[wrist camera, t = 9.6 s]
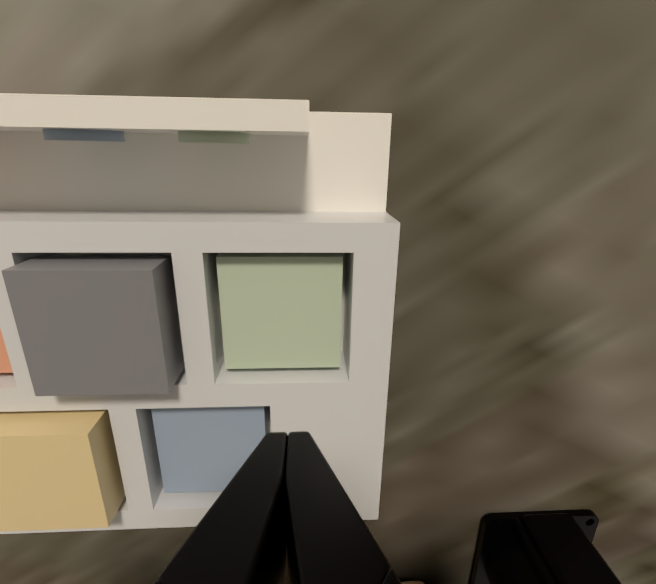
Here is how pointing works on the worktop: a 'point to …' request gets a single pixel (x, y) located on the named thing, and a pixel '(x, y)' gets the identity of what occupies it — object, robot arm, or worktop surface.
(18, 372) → the keypad
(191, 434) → the key slate
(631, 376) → the worktop surface
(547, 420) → the worktop surface
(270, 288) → the key sage
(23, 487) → the block
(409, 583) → the tan boot
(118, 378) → the key charcoal
